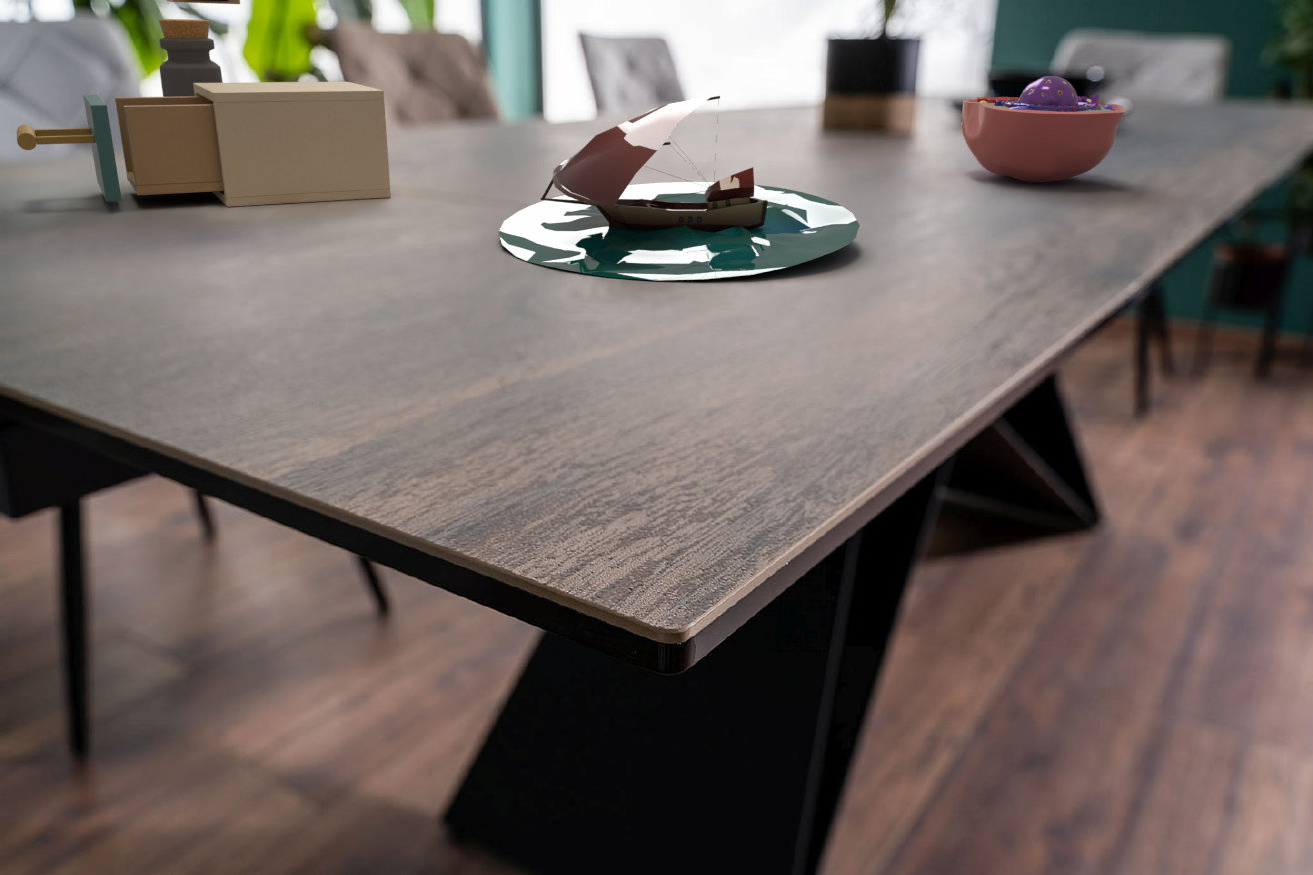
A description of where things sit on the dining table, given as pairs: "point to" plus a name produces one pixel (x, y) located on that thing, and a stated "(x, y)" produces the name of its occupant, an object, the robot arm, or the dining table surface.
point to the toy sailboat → (669, 215)
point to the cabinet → (299, 141)
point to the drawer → (146, 144)
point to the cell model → (1040, 131)
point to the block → (194, 0)
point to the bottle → (186, 56)
